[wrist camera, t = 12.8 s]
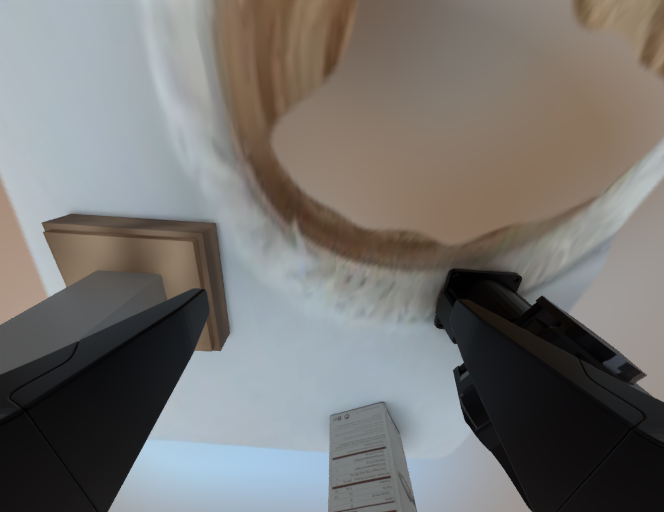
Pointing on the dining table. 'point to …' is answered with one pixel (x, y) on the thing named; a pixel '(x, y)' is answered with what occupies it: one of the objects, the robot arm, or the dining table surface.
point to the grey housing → (77, 314)
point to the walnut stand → (145, 258)
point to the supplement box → (367, 463)
